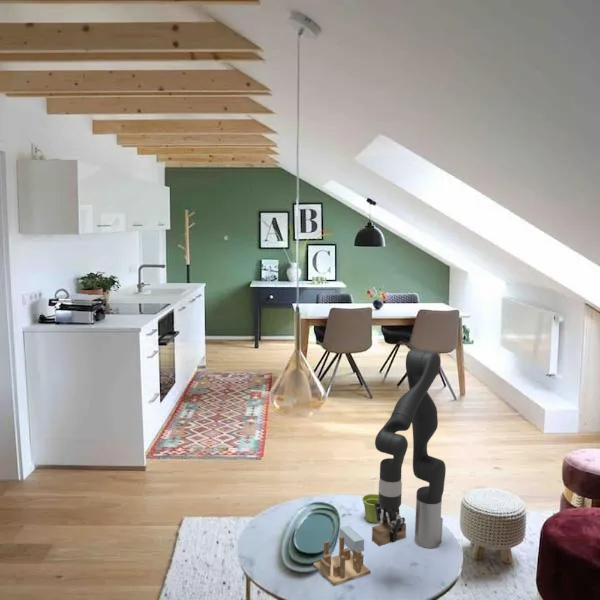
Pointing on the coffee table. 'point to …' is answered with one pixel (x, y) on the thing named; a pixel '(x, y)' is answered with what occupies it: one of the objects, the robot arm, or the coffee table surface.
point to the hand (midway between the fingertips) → (388, 538)
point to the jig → (341, 564)
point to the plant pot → (370, 507)
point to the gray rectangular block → (351, 538)
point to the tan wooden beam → (385, 534)
